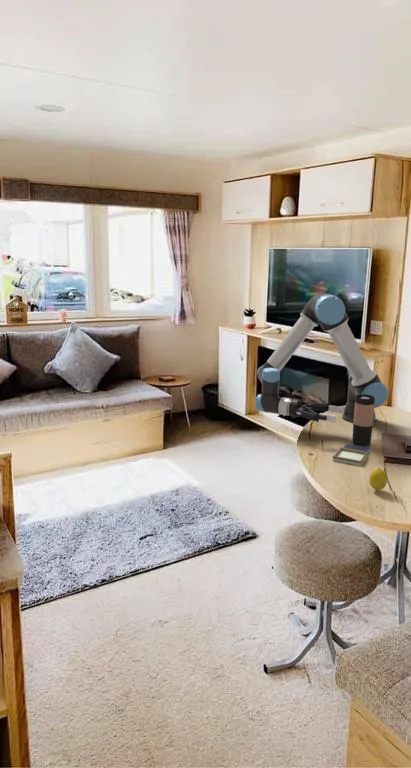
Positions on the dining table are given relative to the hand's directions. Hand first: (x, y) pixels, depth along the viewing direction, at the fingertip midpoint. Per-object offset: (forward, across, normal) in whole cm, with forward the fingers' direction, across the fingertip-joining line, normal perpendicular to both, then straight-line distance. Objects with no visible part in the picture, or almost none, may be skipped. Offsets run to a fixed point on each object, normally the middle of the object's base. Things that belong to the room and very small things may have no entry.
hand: (339, 414), depth 230 cm
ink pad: (+10, +10, -11) cm, 17 cm away
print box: (+10, +18, -11) cm, 24 cm away
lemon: (+25, +43, -11) cm, 51 cm away
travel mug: (+10, 0, -11) cm, 15 cm away
